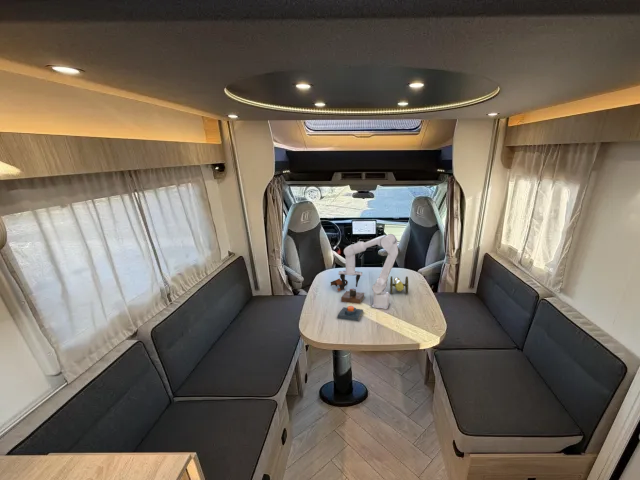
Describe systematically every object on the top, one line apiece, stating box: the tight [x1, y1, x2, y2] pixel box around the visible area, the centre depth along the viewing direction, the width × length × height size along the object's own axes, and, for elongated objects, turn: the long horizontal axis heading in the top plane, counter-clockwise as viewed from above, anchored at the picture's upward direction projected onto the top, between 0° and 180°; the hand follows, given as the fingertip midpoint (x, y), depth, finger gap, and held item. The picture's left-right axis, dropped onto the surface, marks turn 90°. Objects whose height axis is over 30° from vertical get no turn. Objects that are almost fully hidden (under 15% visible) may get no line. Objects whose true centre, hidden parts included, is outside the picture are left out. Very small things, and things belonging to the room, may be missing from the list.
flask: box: [337, 306, 364, 322], centre depth 175 cm, size 12×10×4 cm
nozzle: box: [346, 305, 355, 311], centre depth 174 cm, size 4×4×2 cm
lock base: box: [340, 290, 365, 305], centre depth 195 cm, size 12×10×3 cm
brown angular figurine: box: [329, 277, 349, 293], centre depth 211 cm, size 12×10×8 cm
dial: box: [349, 288, 357, 296], centre depth 194 cm, size 4×4×4 cm
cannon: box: [389, 275, 409, 295], centre depth 208 cm, size 25×12×11 cm, turn 179°
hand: (350, 286), depth 192 cm, fingers open, 7 cm apart
